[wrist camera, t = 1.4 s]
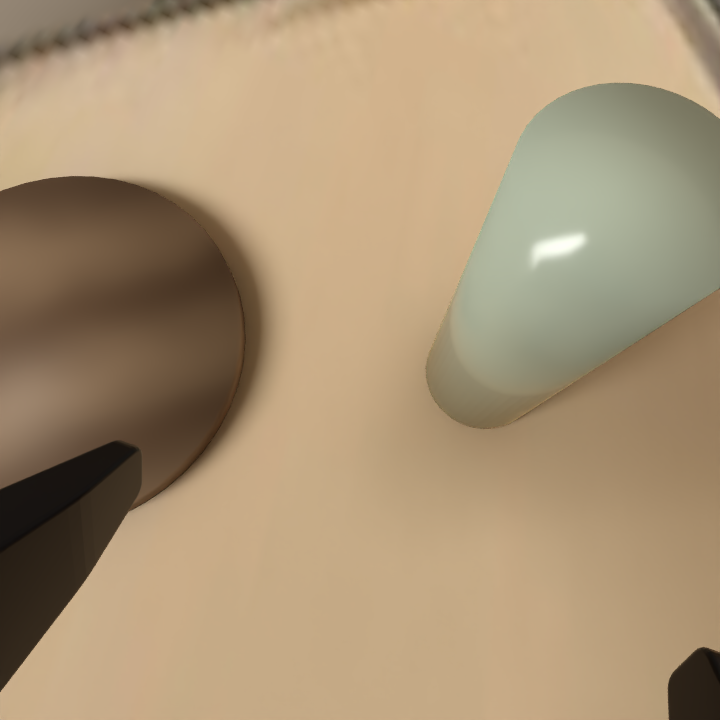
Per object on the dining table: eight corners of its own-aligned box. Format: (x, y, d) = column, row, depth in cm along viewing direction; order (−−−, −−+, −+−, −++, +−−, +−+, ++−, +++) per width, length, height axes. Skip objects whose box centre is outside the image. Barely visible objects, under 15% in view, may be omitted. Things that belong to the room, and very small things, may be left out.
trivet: (311, 399, 24) (309, 393, 23) (-41, 616, 21) (-63, 621, 20) (147, 138, 28) (138, 121, 26) (-167, 296, 25) (-192, 285, 24)
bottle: (562, 389, 24) (821, 220, 11) (469, 451, 23) (623, 352, 10) (494, 300, 25) (649, 47, 12) (404, 356, 24) (460, 152, 11)
